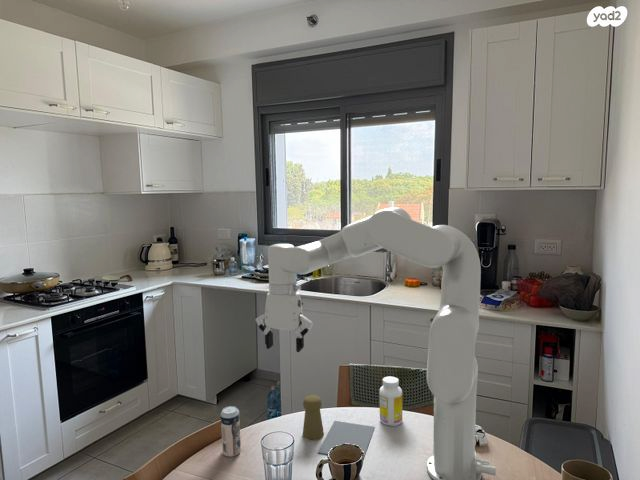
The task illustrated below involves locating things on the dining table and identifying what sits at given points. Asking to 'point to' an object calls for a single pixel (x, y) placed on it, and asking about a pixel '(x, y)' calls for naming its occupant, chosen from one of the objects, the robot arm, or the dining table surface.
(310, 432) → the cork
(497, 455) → the dining table surface
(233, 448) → the beer can
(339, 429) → the mat
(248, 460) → the dining table surface
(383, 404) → the supplement bottle
